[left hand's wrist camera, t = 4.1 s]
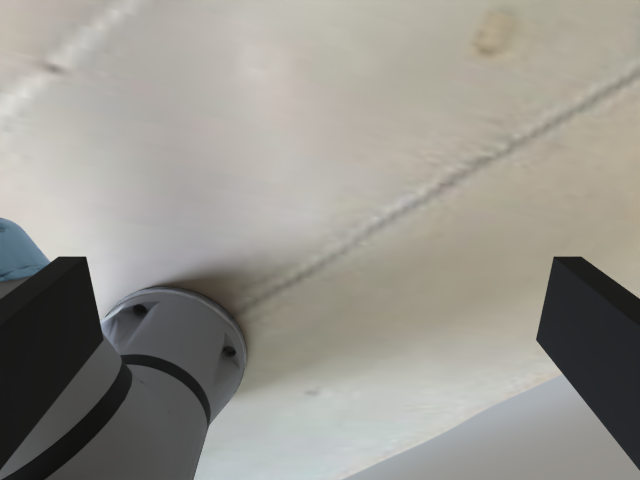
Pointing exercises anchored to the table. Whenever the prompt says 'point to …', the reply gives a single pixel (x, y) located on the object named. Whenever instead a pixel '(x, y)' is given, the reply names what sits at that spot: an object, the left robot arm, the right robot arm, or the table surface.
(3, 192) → the table surface
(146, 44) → the table surface
